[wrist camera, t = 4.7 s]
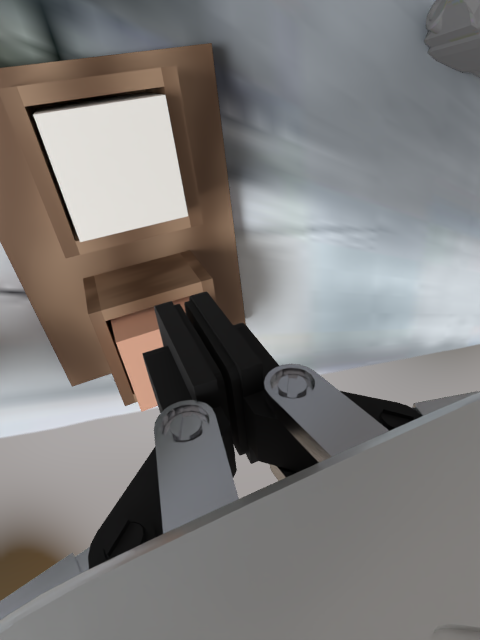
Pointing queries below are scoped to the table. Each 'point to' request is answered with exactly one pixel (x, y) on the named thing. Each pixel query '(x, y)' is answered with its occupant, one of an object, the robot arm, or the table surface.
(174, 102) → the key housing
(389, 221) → the table surface
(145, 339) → the terracotta key
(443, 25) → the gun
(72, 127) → the white square block
